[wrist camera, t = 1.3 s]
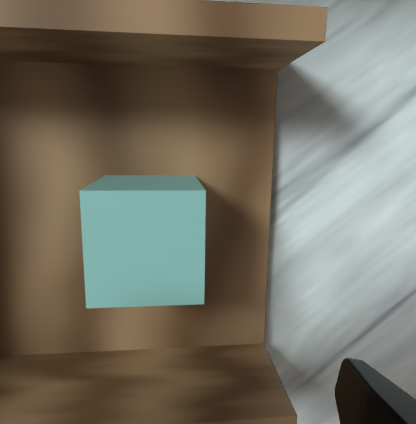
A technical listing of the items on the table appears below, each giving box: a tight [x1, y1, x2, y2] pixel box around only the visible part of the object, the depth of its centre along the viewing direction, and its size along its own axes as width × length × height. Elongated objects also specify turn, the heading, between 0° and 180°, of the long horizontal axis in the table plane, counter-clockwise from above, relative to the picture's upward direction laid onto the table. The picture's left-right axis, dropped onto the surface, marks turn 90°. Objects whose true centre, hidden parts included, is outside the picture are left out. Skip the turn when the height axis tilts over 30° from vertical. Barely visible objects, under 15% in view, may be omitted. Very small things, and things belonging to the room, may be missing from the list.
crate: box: [0, 0, 327, 424], centre depth 18 cm, size 20×19×7 cm
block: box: [79, 175, 206, 308], centre depth 18 cm, size 5×5×6 cm
